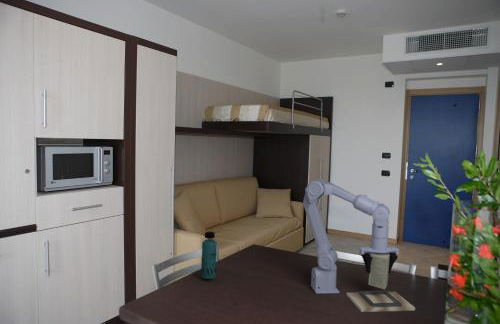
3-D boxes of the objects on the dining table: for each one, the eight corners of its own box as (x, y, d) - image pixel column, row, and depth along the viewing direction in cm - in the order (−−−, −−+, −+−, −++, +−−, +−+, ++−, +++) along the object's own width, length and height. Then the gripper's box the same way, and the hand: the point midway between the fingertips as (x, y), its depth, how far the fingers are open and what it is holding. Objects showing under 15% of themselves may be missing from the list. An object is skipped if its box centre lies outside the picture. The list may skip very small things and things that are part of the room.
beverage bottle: (197, 280, 140) (198, 233, 139) (205, 275, 146) (206, 229, 145) (211, 283, 137) (212, 235, 136) (219, 277, 143) (220, 231, 142)
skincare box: (387, 285, 127) (390, 254, 125) (384, 290, 123) (388, 258, 121) (370, 280, 130) (373, 250, 128) (367, 284, 127) (370, 254, 125)
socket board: (361, 311, 117) (361, 306, 117) (346, 295, 130) (346, 290, 130) (415, 310, 119) (415, 304, 119) (395, 294, 132) (395, 289, 132)
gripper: (392, 234, 131) (391, 268, 131) (356, 233, 129) (355, 268, 130) (402, 239, 124) (400, 275, 124) (364, 239, 122) (363, 275, 123)
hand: (378, 272), depth 127 cm, fingers closed on skincare box, 7 cm apart
